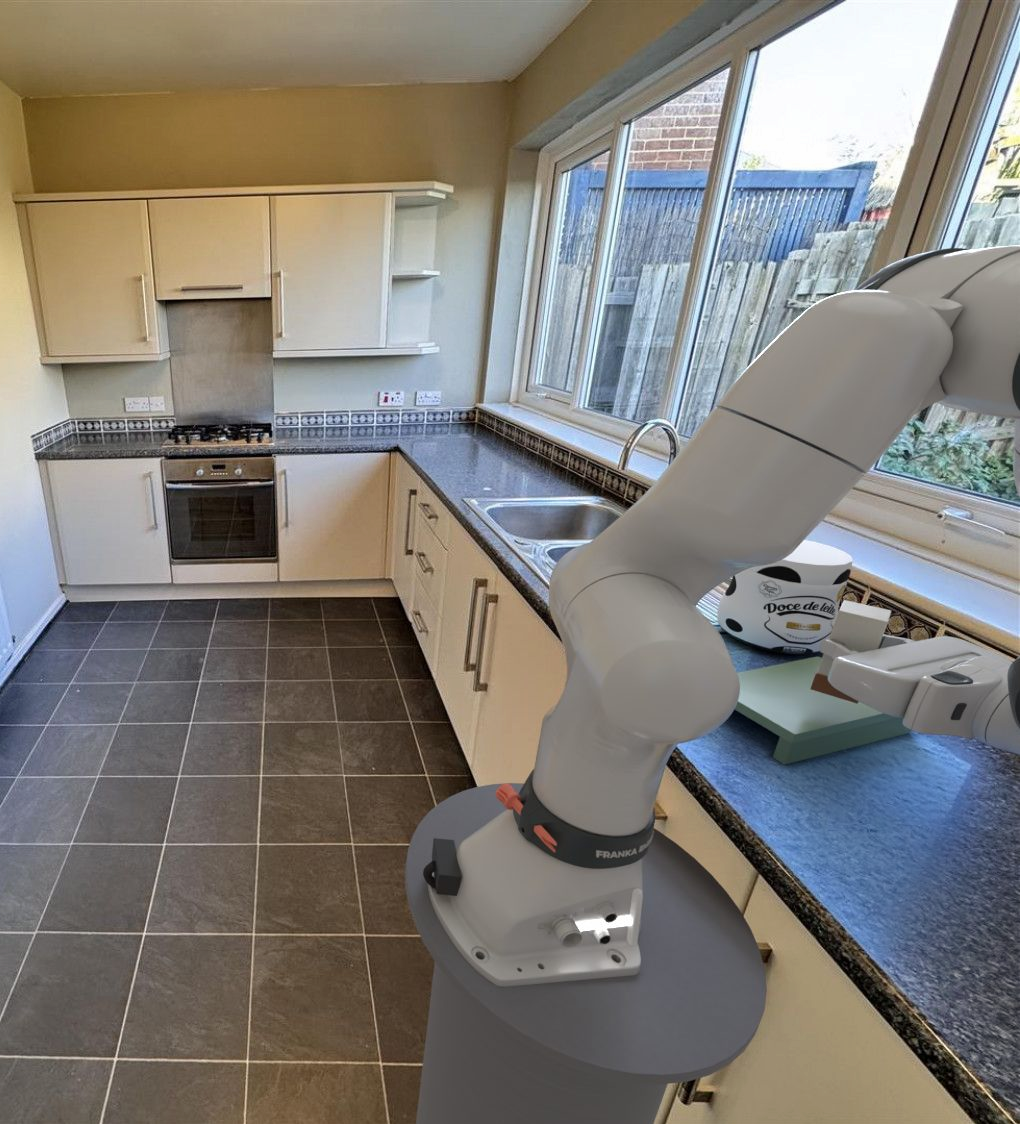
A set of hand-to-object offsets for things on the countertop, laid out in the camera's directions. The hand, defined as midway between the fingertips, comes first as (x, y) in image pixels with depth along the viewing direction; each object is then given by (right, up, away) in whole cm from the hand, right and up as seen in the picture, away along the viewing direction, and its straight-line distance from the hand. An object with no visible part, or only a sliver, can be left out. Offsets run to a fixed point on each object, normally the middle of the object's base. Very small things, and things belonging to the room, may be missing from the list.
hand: (845, 640), depth 81 cm
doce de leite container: (+18, -4, +34) cm, 39 cm away
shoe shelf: (+4, -14, +12) cm, 18 cm away
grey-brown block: (+2, -6, +3) cm, 7 cm away
